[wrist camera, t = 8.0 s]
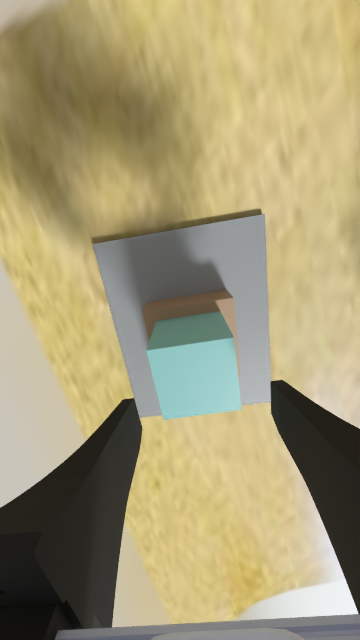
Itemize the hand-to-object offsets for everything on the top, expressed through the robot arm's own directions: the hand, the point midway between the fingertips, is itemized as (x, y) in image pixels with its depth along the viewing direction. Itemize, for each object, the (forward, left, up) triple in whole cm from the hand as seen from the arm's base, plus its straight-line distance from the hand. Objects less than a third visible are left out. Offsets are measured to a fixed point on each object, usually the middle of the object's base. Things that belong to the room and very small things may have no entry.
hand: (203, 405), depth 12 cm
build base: (0, 0, -10) cm, 10 cm away
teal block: (0, 0, -7) cm, 7 cm away
